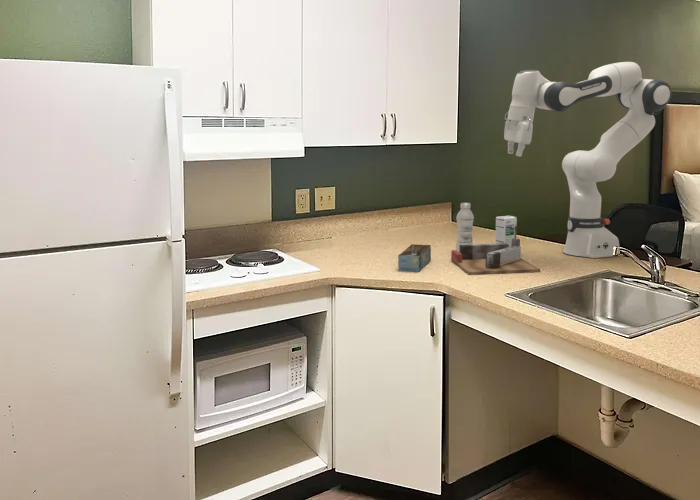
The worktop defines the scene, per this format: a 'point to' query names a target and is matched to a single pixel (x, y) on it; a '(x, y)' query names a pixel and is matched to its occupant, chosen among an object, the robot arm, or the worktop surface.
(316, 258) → the worktop surface
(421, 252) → the beverage carton
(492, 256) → the jaw
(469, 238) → the plastic bottle
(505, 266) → the tongs base
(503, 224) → the syrup box
